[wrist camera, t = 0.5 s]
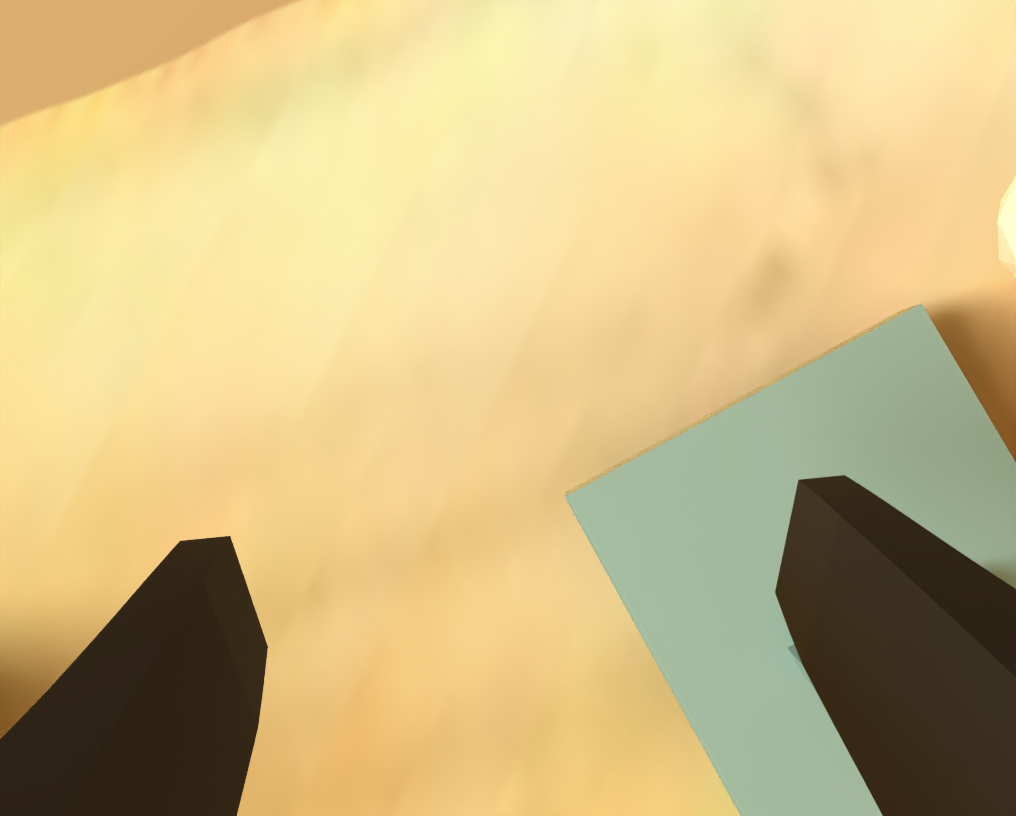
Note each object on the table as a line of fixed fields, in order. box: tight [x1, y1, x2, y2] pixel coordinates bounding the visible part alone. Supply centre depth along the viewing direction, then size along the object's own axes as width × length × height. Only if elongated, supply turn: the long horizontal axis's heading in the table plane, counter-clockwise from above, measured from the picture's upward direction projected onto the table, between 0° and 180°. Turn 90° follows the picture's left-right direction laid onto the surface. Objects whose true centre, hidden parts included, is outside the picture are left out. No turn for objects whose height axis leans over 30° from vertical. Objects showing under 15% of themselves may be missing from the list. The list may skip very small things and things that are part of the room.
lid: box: [565, 304, 1016, 816], centre depth 27 cm, size 19×15×5 cm
